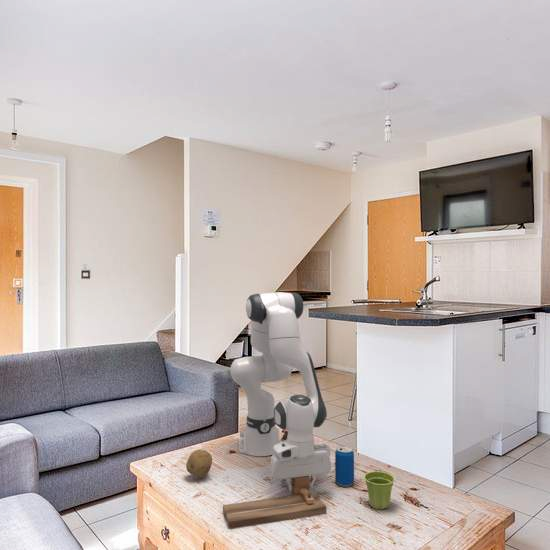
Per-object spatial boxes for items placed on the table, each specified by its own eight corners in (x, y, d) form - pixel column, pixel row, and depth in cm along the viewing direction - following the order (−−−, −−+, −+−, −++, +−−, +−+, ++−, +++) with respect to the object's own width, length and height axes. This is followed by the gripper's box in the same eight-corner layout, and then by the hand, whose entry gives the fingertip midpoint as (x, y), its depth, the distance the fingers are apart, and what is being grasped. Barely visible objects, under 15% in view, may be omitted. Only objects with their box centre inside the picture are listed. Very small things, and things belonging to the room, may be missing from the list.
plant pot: (393, 514, 139) (393, 486, 139) (361, 509, 143) (361, 481, 143) (396, 500, 148) (396, 473, 148) (366, 496, 151) (366, 469, 151)
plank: (222, 511, 141) (222, 504, 141) (314, 498, 150) (314, 491, 150) (229, 528, 132) (229, 521, 132) (326, 513, 140) (326, 506, 140)
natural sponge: (188, 485, 160) (188, 456, 160) (184, 474, 168) (184, 447, 168) (214, 481, 162) (214, 453, 162) (209, 471, 171) (209, 444, 171)
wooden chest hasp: (292, 496, 151) (291, 472, 151) (306, 494, 153) (306, 470, 153) (303, 512, 141) (303, 487, 141) (318, 510, 142) (318, 484, 142)
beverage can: (340, 477, 165) (340, 444, 165) (357, 482, 161) (357, 448, 161) (332, 484, 160) (331, 449, 160) (348, 489, 156) (348, 454, 156)
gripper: (326, 440, 157) (326, 480, 157) (268, 446, 151) (268, 488, 151) (333, 446, 151) (333, 489, 151) (273, 453, 145) (273, 497, 145)
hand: (300, 489), depth 151 cm, fingers closed on wooden chest hasp, 5 cm apart
